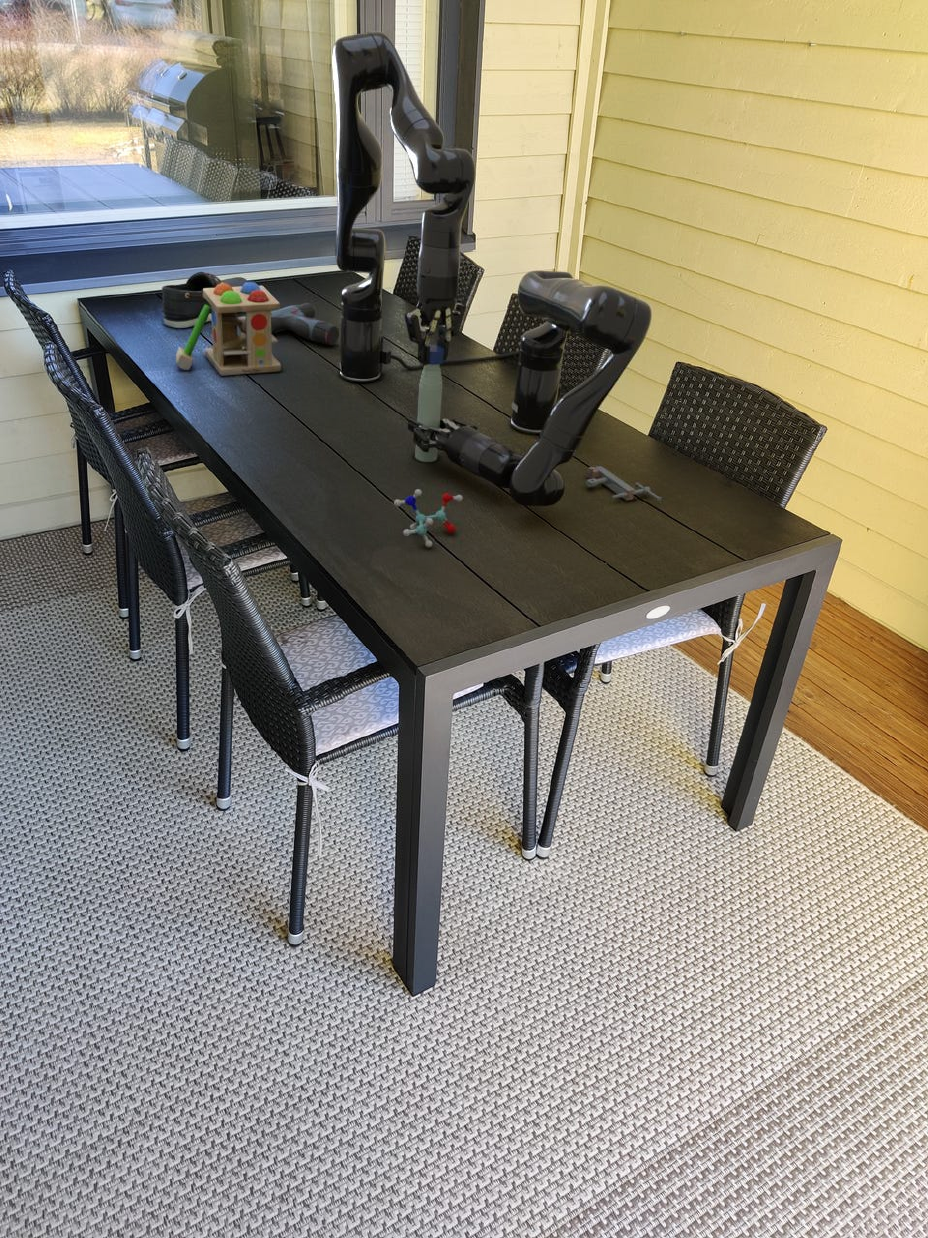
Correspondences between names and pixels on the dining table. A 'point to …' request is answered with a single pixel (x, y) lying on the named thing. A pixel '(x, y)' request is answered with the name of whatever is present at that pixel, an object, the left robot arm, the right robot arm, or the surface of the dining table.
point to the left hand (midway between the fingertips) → (432, 361)
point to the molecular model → (428, 519)
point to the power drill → (304, 324)
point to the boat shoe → (191, 298)
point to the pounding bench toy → (229, 347)
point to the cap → (436, 355)
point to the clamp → (598, 478)
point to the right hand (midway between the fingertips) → (419, 421)
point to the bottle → (429, 406)
